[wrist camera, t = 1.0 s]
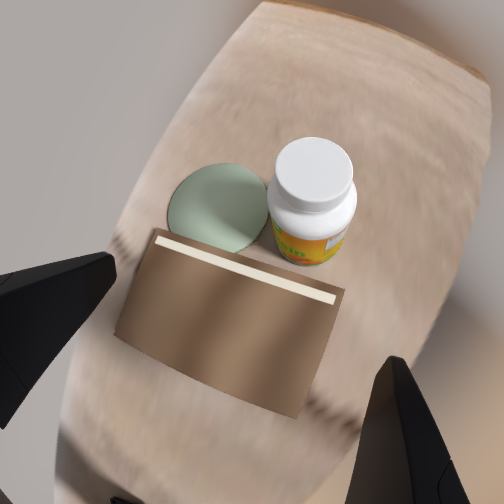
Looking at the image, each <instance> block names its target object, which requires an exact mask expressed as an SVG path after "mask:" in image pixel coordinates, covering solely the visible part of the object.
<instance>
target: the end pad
mask: <svg viewBox="0 0 504 504" xmlns="http://www.w3.org/2000/svg"><path fill="white" fill-rule="evenodd" d="M268 213H269V208H268V203H267V191H266V188H265V186H264V184H263V182H262V181H261V180H260V178H259V177H258V176H257V175H256V174H255V173H253V172H252V171H251V170H249V169H247V168H245V167H243V166H240V165H236V164H229V163H220V164H214V165H210V166H207V167H204V168H202V169H200V170H198V171H196V172H194V173H193V174H191V175H190V176H189V177H187V178H186V179H185V180H184V181H183V182H182V183H181V184H180V186H179V187H178V188H177V190H176V191H175V193H174V195H173V197H172V199H171V202H170V205H169V210H168V223H169V228H170V231H171V232H172V233H175V234H178V235H181V236H184V237H187V238H190V239H193V240H196V241H199V242H202V243H205V244H208V245H211V246H214V247H217V248H220V249H223V250H226V251H229V252H232V253H237V252H240V251H241V250H243V249H244V248H246V247H247V246H249V245H250V244H251V243H252V242H253V241H254V240H255V239H256V238H257V237H258V235H259V234H260V233H261V231H262V229H263V228H264V226H265V223H266V221H267V218H268Z"/></svg>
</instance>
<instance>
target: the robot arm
mask: <svg viewBox="0 0 504 504" xmlns="http://www.w3.org/2000/svg"><path fill="white" fill-rule="evenodd" d="M116 278H117V273H116V266H115V259H114V257H113V255H111V254H109V253H107V252H99V253H94V254H89V255H85V256H80V257H76V258H71V259H67V260H63V261H58V262H54V263H49V264H45V265H41V266H37V267H33V268H28V269H24V270H20V271H16V272H12V273H8V274H4V275H0V428H1V429H4V428H5V427H6V426H7V424H8V422H9V421H10V419H11V418H12V416H13V415H14V413H15V412H16V410H17V409H18V407H19V406H20V405H21V403H22V402H23V400H24V399H25V398H26V396H27V395H28V393H29V391H30V390H31V389H32V388H33V386H34V385H35V383H36V382H37V381H38V379H39V378H40V377H41V375H42V374H43V373H44V371H45V370H46V369H47V367H48V366H49V365H50V364H51V362H52V361H53V360H54V358H55V357H56V356H57V355H58V353H59V352H60V351H61V350H62V348H63V347H64V346H65V345H66V343H67V342H68V341H69V340H70V338H71V337H72V336H73V335H74V334H75V333H76V331H77V330H78V329H79V328H80V327H81V325H82V324H83V323H84V322H85V321H86V320H87V318H88V317H89V316H90V315H91V314H92V312H93V311H94V310H95V308H96V307H97V305H98V304H99V303H100V301H101V300H102V299H103V297H104V296H105V294H106V293H107V292H108V290H109V289H110V288H111V286H112V285H113V284H114V282H115V281H116ZM450 458H451V457H450V455H449V452H448V450H447V447H446V445H445V443H444V440H443V438H442V436H441V434H440V432H439V429H438V427H437V425H436V422H435V420H434V418H433V416H432V414H431V412H430V410H429V407H428V405H427V403H426V401H425V399H424V397H423V395H422V393H421V391H420V389H419V387H418V385H417V383H416V381H415V379H414V377H413V375H412V373H411V371H410V370H409V368H408V366H407V364H406V362H405V360H404V359H403V358H400V357H396V356H389V357H388V358H387V360H386V361H385V363H384V364H383V366H382V367H381V368H380V370H379V371H378V373H377V374H376V377H375V380H374V384H373V388H372V392H371V396H370V400H369V404H368V407H367V411H366V415H365V418H364V422H363V426H362V431H361V436H360V441H359V447H358V452H357V456H356V461H355V465H354V470H353V474H352V478H351V483H350V486H349V490H348V494H347V497H346V501H345V504H470V502H469V500H468V497H467V495H466V493H465V491H464V489H463V486H462V484H461V482H460V479H459V477H458V474H457V472H456V469H455V467H454V464H453V462H452V460H450ZM110 501H111V504H132V503H129V502H127V501H124V500H121V499H119V498H117V497H112V498H111V499H110ZM115 501H116V502H115ZM0 504H13V503H12V502H11V501H10V500H9V499H8V498H7V496H6V495H5V494H4V493H3V492H2V490H1V489H0Z"/></svg>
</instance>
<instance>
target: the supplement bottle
mask: <svg viewBox="0 0 504 504" xmlns="http://www.w3.org/2000/svg"><path fill="white" fill-rule="evenodd" d="M274 171H275V173H274V175H273V176H272V178H271V180H270V182H269V185H268V189H267V203H268V208H269V213H270V217H271V221H272V226H273V230H274V236H275V240H276V243H277V246H278V248H279V250H280V252H281V253H282V254H283V256H284V257H285V258H286V259H288V260H289V261H290V262H292V263H294V264H297V265H300V266H304V267H314V266H319V265H322V264H324V263H326V262H328V261H329V260H330V259H331V258H333V257H334V256H335V254H336V253H337V252H338V250H339V248H340V246H341V244H342V242H343V240H344V237H345V235H346V232H347V230H348V227H349V225H350V222H351V220H352V218H353V215H354V212H355V209H356V204H357V193H356V188H355V185H354V183H353V181H352V177H353V168H352V163H351V161H350V158H349V157H348V155H347V154H346V152H345V151H344V150H343V149H342V148H341V147H340V146H338V145H337V144H335V143H333V142H331V141H329V140H326V139H323V138H317V137H306V138H301V139H297V140H295V141H293V142H291V143H289V144H287V145H286V146H285V147H284V148H283V149H282V150H281V151H280V152H279V154H278V156H277V158H276V161H275V169H274Z"/></svg>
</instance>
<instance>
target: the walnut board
mask: <svg viewBox="0 0 504 504" xmlns="http://www.w3.org/2000/svg"><path fill="white" fill-rule="evenodd" d="M344 291H345V289H342V288H339V287H336V286H333V285H330V284H327V283H324V282H321V281H318V280H314V279H311V278H308V277H305V276H302V275H299V274H296V273H293V272H290V271H287V270H284V269H281V268H278V267H275V266H272V265H269V264H265V263H262V262H259V261H256V260H253V259H250V258H247V257H244V256H241V255H238V254H235V253H232V252H229V251H226V250H223V249H220V248H217V247H214V246H211V245H208V244H205V243H202V242H199V241H196V240H193V239H190V238H187V237H184V236H181V235H178V234H175V233H172V232H169V231H166V230H163V229H160V228H157V229H156V232H155V234H154V236H153V238H152V240H151V242H150V245H149V247H148V249H147V251H146V254H145V256H144V258H143V261H142V263H141V265H140V268H139V270H138V272H137V275H136V277H135V280H134V282H133V284H132V287H131V289H130V292H129V294H128V297H127V300H126V302H125V305H124V307H123V310H122V313H121V315H120V318H119V321H118V324H117V326H116V329H115V332H114V335H115V336H116V337H118V338H119V339H121V340H123V341H124V342H126V343H128V344H129V345H131V346H133V347H135V348H136V349H138V350H140V351H141V352H143V353H145V354H147V355H149V356H150V357H152V358H154V359H156V360H158V361H160V362H161V363H163V364H165V365H167V366H169V367H171V368H173V369H175V370H177V371H179V372H181V373H183V374H185V375H187V376H189V377H191V378H193V379H195V380H197V381H200V382H202V383H204V384H206V385H208V386H211V387H213V388H215V389H217V390H220V391H222V392H224V393H227V394H229V395H231V396H234V397H236V398H239V399H241V400H244V401H246V402H249V403H251V404H254V405H257V406H259V407H262V408H265V409H267V410H270V411H273V412H276V413H279V414H282V415H285V416H288V417H291V418H294V419H297V417H298V415H299V413H300V410H301V408H302V406H303V403H304V401H305V399H306V396H307V394H308V392H309V389H310V387H311V384H312V382H313V379H314V377H315V374H316V372H317V369H318V367H319V364H320V361H321V359H322V356H323V353H324V351H325V348H326V345H327V342H328V340H329V337H330V334H331V331H332V328H333V325H334V322H335V319H336V316H337V313H338V310H339V307H340V304H341V301H342V298H343V294H344Z"/></svg>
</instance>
